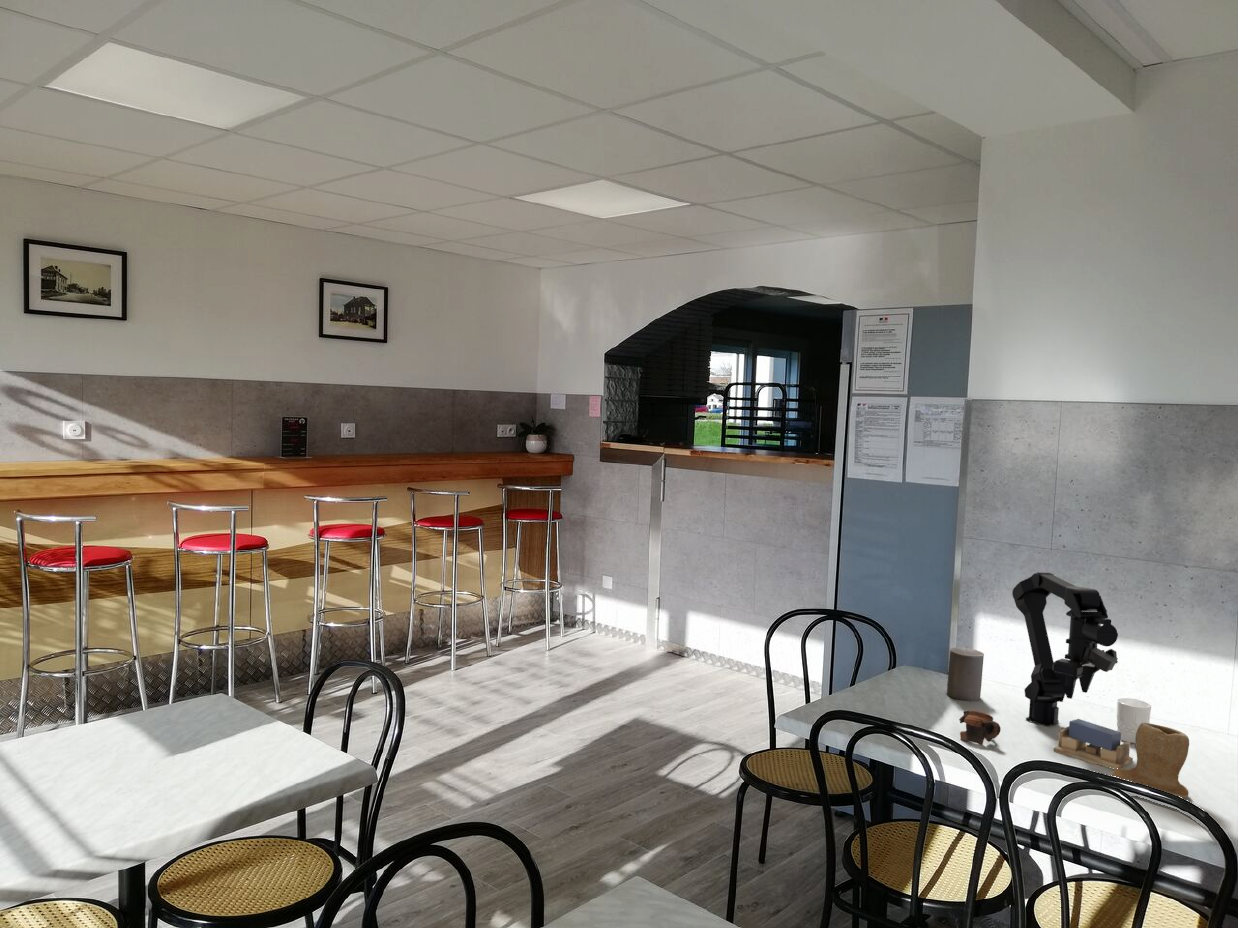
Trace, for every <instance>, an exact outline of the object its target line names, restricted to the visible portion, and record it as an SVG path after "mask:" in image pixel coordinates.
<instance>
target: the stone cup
mask: <svg viewBox="0 0 1238 928" xmlns="http://www.w3.org/2000/svg"><path fill="white" fill-rule="evenodd" d="M1135 742H1136V744H1135V751H1136V765H1135V766H1134V767H1133V768H1130V769H1129V768H1123V767H1121V768H1118V769H1115V770H1114V769H1113V771H1112V772H1111V774H1110V776H1111V775H1112V776H1116V777H1119V778H1121V779H1125V780H1129V781H1132V782H1135V783H1139V784H1143V785H1148V786H1150V787H1153V788H1156V789H1159V790H1162V791H1165V792H1168V793H1171V794H1174V795H1175V796H1180V797H1182V798H1183V799H1186V798H1187V797H1188V796H1189V789H1187V787H1186V786H1184V785H1183V784H1182V783H1180V781H1179V777H1180V776H1179V775H1180V772H1181V770H1182V768H1183V766H1184V764H1185V763H1186V761H1187V757H1188V754H1189V747H1190V739H1189V737H1188V736H1187V734H1185V733H1184V732H1182V731H1181V730H1178V729H1174V728H1171V727H1168V726H1164V725H1159V724H1155V723H1150V722H1149V723H1141V724H1140V726H1139V728H1138V730H1137V732H1136V738H1135Z"/></svg>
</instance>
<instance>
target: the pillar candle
mask: <svg viewBox="0 0 1238 928" xmlns="http://www.w3.org/2000/svg"><path fill="white" fill-rule="evenodd" d="M984 656H985V654H984V652H982V651H980V650H977V649H973V648H969V647H967V646H965V647H951V648H950V649H949V658H948V659H949V660H948V670H947V671H948V672H947V673H948V674H947V681H946V682H947V683H946V686H947V687H946V693H945V694H946V695H947V696H948V697H950V698H952V699H956V700H959V701H965V702H976V701H979V700H980V699H981V696H982V695H981V694H982V693H981V692H982V681H983V680H982V679H983V669H984V658H985V657H984Z"/></svg>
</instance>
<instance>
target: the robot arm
mask: <svg viewBox="0 0 1238 928" xmlns="http://www.w3.org/2000/svg"><path fill="white" fill-rule="evenodd" d="M1051 594H1053V595H1055V596H1056V597H1058V598H1060V599H1062V600H1063V601H1064V605H1065V606H1066V607H1067V608H1068V609H1070V610H1068V611H1067V612H1065V613H1066V614H1065V615H1066V616H1068V617H1069V618H1070V620H1069V621H1070V622H1069V634H1068V638H1066V639H1065V644H1068V646H1067V653H1066V654H1064V658H1060V659H1057V660H1055V661H1054V658H1053V653H1052V649H1051V644H1050V640H1049V636H1048V631H1047V625H1046V622H1045V621H1046V620H1045V617H1044V611H1045V608H1046V606H1047V602H1048V601H1047V598H1048V596H1050V595H1051ZM1012 598H1013V600H1014V603H1015V604H1014V605H1015V607H1016V608H1017V610H1019V612H1021V614H1022V616H1023V617H1024V620H1025V624H1026V630H1027V635H1028V640H1029V644H1030V649H1031V653H1032V657H1033V664H1034V667H1033V670H1032V672H1031V674H1030V679H1031V680H1030V681H1031V682H1030V683H1029V684H1028V685H1027V686H1026V687H1025V688H1024V697H1025V698H1027V699H1028V700H1029V709H1028V711H1029V712H1028V716H1027V717H1025V720H1026V721H1028V722H1033V723H1036V724H1040V725H1043V726H1047V727H1051V726H1053V725H1055V724H1058V723H1059V710H1060V707H1059V706H1058V703H1059V702H1060V703H1063V702H1064V699H1065V696H1066V698H1067V699H1069V700H1070V699H1073V697H1074V692H1075V688H1076V683H1077V680H1079V684H1080V689H1081V692H1083V693H1085V694H1087V693H1088V691H1089V689H1090V686H1091V684H1092V680H1093V679H1094V676H1095V674H1096V673H1098V672H1099V671H1102V672H1105V673H1107V672H1109V671H1113V670H1114V667H1115V665H1117V664H1118V662H1119V661H1118V660H1119V659H1118V657H1117V651H1116V650H1114V649H1113V648H1109V649H1108V650H1106V651H1105V649H1099V648H1098V645H1100V646H1103V647H1111V646H1113V645H1114V644H1115V643H1117V640H1118V637H1119V633H1118V631H1117V628H1116V627H1115V626H1114V625H1113V624H1112V619H1110V618H1109V615H1108V610H1107V609H1106V607H1105V604H1104V600H1103V599H1102V596H1101V595H1100V592H1099V590H1097V589H1095V588H1089V587H1083V586H1076V585H1074V584H1072V583H1070V582H1068V581H1066V580H1064V579H1062V578H1060V577H1058V576H1055V574H1054V573H1051V572H1045V571H1043V572H1040V571H1039V572H1035V573H1033V574H1031V576H1030V577H1028V578H1025V579H1023V580H1021V581H1019V582H1018V583H1017V584H1016V585H1015V586H1014V587H1013V589H1012Z"/></svg>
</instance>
